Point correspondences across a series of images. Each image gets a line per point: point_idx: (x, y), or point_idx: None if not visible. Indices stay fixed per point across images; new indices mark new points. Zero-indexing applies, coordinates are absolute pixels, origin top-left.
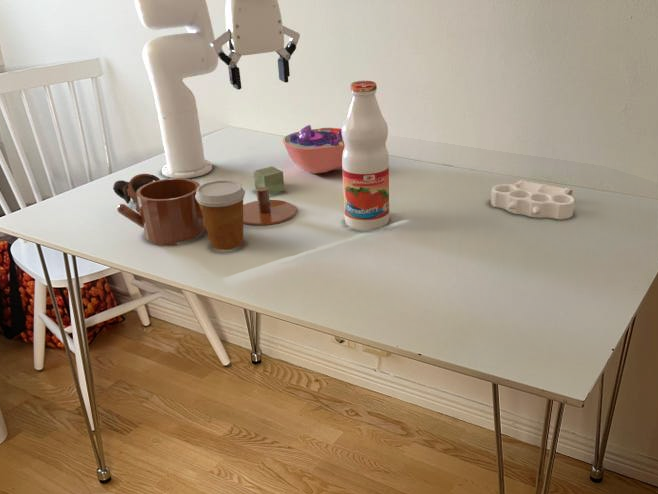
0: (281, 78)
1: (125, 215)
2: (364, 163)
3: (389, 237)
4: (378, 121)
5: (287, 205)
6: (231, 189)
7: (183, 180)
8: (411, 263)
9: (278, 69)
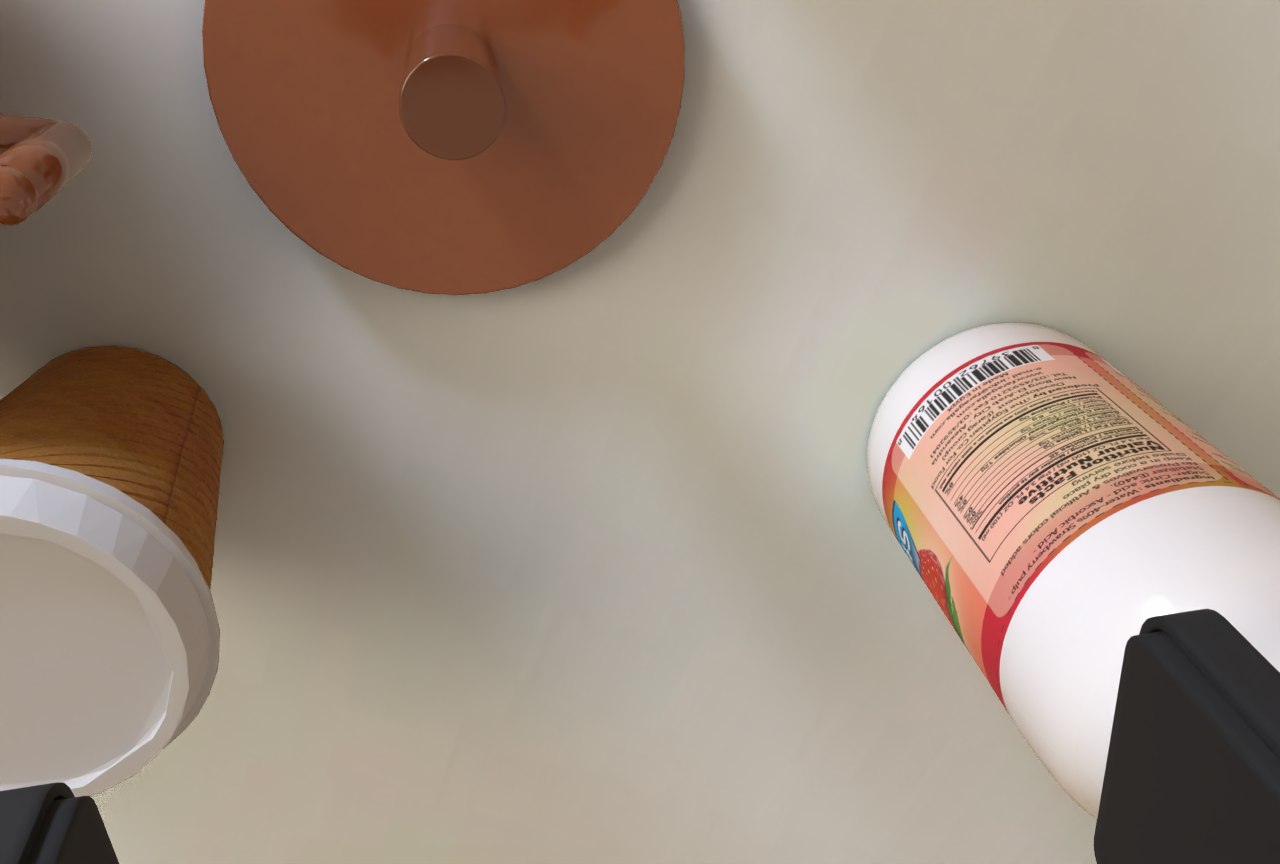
0: (1134, 766)
1: None
2: None
3: None
4: None
5: (642, 39)
6: (102, 691)
7: None
8: (910, 858)
9: (1259, 781)
